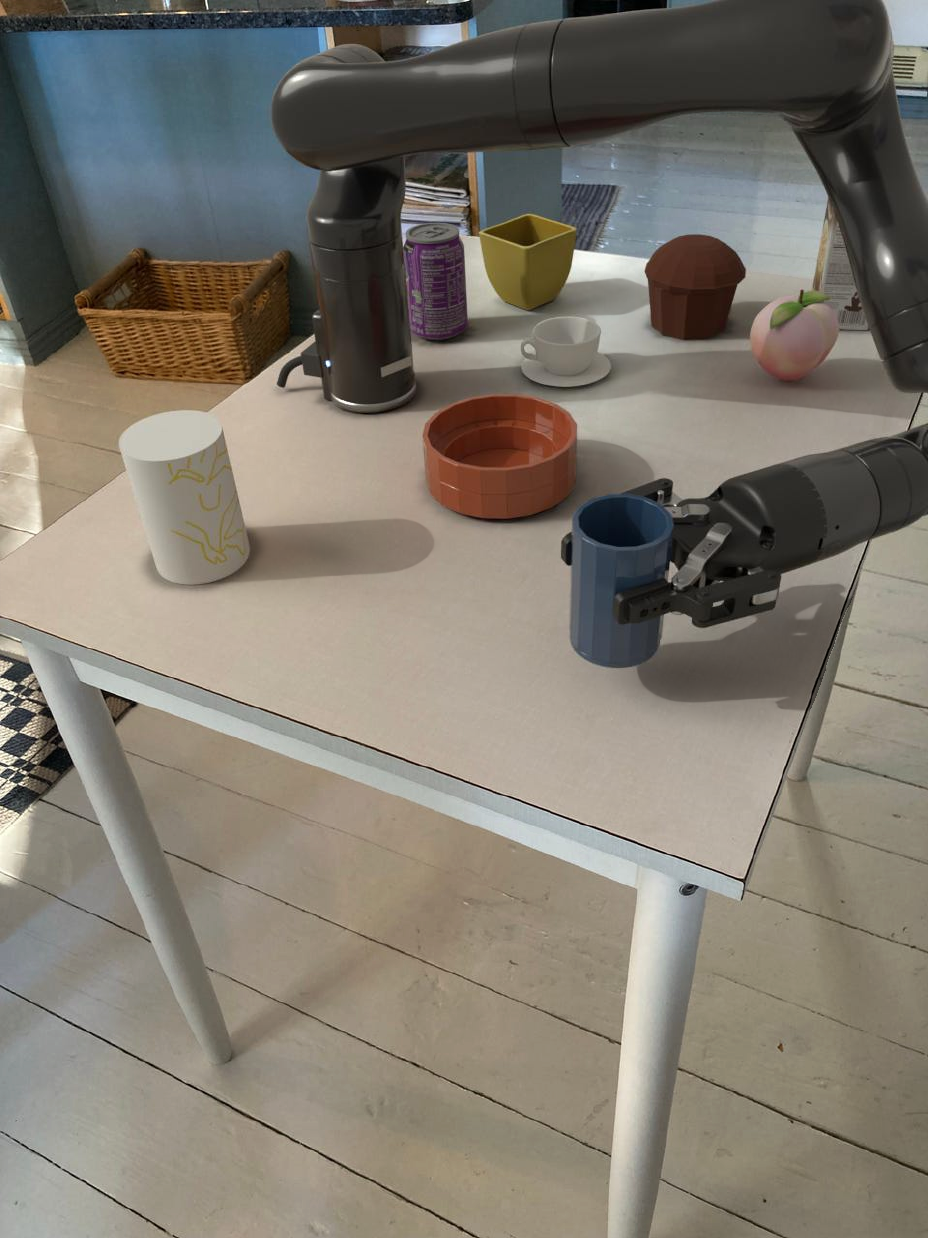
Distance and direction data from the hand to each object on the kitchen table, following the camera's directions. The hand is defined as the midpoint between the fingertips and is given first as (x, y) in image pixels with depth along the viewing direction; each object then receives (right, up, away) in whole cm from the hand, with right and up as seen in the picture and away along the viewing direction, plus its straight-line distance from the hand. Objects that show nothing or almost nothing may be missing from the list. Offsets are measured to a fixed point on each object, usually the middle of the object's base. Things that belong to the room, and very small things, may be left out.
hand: (589, 580), depth 66 cm
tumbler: (+2, -4, +5) cm, 6 cm away
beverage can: (-11, +32, +55) cm, 65 cm away
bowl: (-5, +10, +28) cm, 30 cm away
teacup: (+3, +25, +45) cm, 52 cm away
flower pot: (0, +38, +61) cm, 72 cm away
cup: (-31, +3, +21) cm, 38 cm away
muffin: (+19, +32, +53) cm, 65 cm away
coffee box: (+37, +34, +53) cm, 73 cm away
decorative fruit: (+26, +23, +41) cm, 54 cm away
